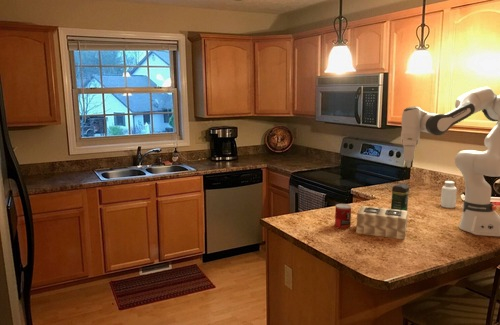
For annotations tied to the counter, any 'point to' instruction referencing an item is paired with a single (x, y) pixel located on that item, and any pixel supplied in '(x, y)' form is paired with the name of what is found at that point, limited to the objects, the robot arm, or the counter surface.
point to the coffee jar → (400, 197)
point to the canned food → (343, 216)
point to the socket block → (381, 222)
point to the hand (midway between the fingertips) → (408, 166)
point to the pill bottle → (448, 195)
